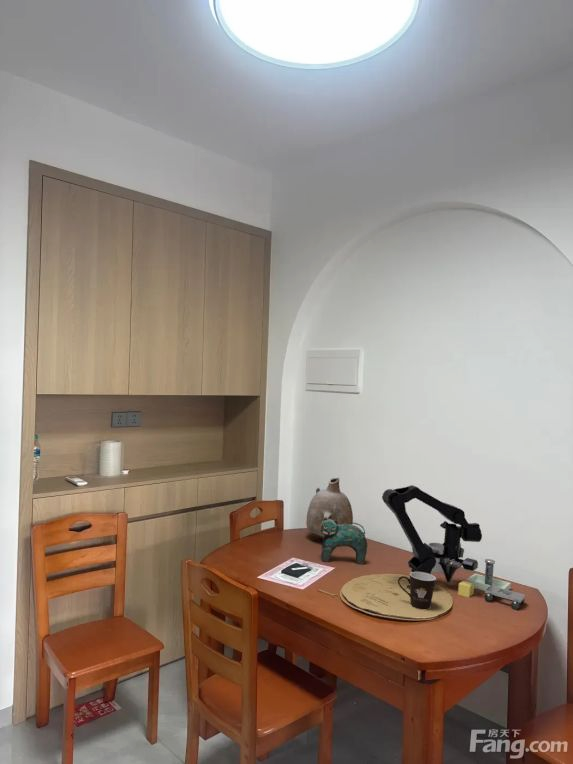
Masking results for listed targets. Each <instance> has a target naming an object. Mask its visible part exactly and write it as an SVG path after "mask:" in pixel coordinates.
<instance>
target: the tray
mask: <svg viewBox="0 0 573 764" xmlns="http://www.w3.org/2000/svg"><path fill="white" fill-rule="evenodd" d="M465 581H467V582H471V583H474V590H475V589H476V590H479V591H482V592H485V590H486V589H487V588H488V587H489V586H491V585H487V584H485V575H482V574H479V573H474V574H472V575H471V576H469V577H468V578H466V580H465ZM511 584H512V583H511V582H509V581H506V580H505V581H504V580H503V579H502V580H501V579H497V578H494V577H493V582H492V586H496V587H499V588H503V589H506V590H509V589H510V590H511ZM500 593H503V592H500ZM503 594H506V593H503Z"/></svg>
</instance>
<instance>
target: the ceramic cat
mask: <svg viewBox="0 0 573 764" xmlns="http://www.w3.org/2000/svg"><path fill="white" fill-rule="evenodd" d="M339 514H342V513H339ZM339 514H337V515H339ZM342 515H344V514H342ZM344 516H345V515H344ZM337 523H338V521H337V516H336V521H333V520H331V519H327V518H326V517H325V518H324V520H323V521H322V523H321V532H322V533H323V534H324V539H323V538H322V545H321V553H320V555H321V556H320V558H321V562H324V563H329V562H330V559H331V557H332V554H333V552H334V551H335V549H337V548H338V547H349V548H351V549H352V550H353V551H354V552H355V564H357V565H365V561H366V555H367V549H368V541H367V538H366V531H365V528H364V526H362V524H360V523H358V522H354V521H353V522H351V523H353V524H352V525H351V524H350V523H346V524H340V523H338V524H339V525H338V524H337ZM356 525H357V526H356ZM360 527H361V528H362V529H361V528H360Z"/></svg>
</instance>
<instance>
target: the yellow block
mask: <svg viewBox="0 0 573 764" xmlns="http://www.w3.org/2000/svg"><path fill="white" fill-rule="evenodd" d="M457 589H458V591H457V595H459V596H463V597H465V598H471V597H472V596H473V595H474V591H475V588H474V583H471V582H467V581H466V580H461V582H459V583H458V587H457Z"/></svg>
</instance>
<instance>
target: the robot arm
mask: <svg viewBox="0 0 573 764" xmlns="http://www.w3.org/2000/svg"><path fill="white" fill-rule="evenodd" d="M381 498H382V501H383V502H384V504H385V505H386V506H387V508H388V509H390V511H391V513H393V514H394V516H395V518H396V519H397V521H398V523H399V525H400V527H401V528H402V531H403V533H404V534H405V536H406V538H407V541H409V543H410V546H411V548H412V554H413V557H411V558H410V560H408V561H407V563H408V568H410V569H411V571H410V573H411V572H424V573H428V574H432V569H433V568H434V566H435V565H436V558H438V559H440V560H439V562H438V564H440V565H441V567H442V569H443V571H444V573H443V574H444V577H445V580H446V583H448V584H449V583H451V581H452V579H453V576H454V574H455V572H456V571H457V570H458V569H461V567H462V568H463V569H465V570H467V571H471V572H472V571H473V572H474V571H475V570H477V569H478V568H479V562H478V561H477V559H473V558H469V557H467V558H464V557H463V556H464V553H465V549H464V548H463V547H462V544H461V540H462V541H463V542H473V543H480V542H481V541H482V537H483V534H482V530H481V528H480V524H479V523H477V522H473V523H471V522H468V520H467V519H466V515H465V511H464V510H463V509H461V508H459V507H457V506H455V505H452V504H450V503H447V502H443V501H441V500H439V499H438V498H435V497H434V496H432V495H431V494H428V493H427V492H425V491H423V490H422V489H421V488H419V487H418V486H415V485H413V484H411V485H408V486H404V487H398V488H395V489H394V488H390V489H389V488H388V489H386V490H384V492H383V493H382V496H381ZM414 499H416V500H418V501H420V502H422V503H423V504H425V505H426V506H428V507H430V508H432V509H434V510H436V511H437V512H438V513H439V514H440V515H441V516H443V517H444V518H445V519H446V520H448V521H449V522H451V523H449V522H448V521H446V520H444V521H443V522H442V523H441V524H439V527H441V528H442V529H443V530H444V538H443V539H444V540H443V542H442V544H443V546H444V549H443V554H439V551H438V550H434V549H432V548H431V547H430V546H429V544H427V542H424V543H423V541H422V539H421V537H420V535H419V533H418V532H417V530H416V527H415V526H414V523H413V522H412V520H411V518H410V516H409V515H408V512H407V510H406V509H407V508H406V504H407V503H409V502H411V501H412V500H414ZM458 525H459V526H458ZM447 558H449V559H447ZM462 558H464V559H462ZM408 587H410V585H409V584H407V585H406V588H408Z"/></svg>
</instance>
